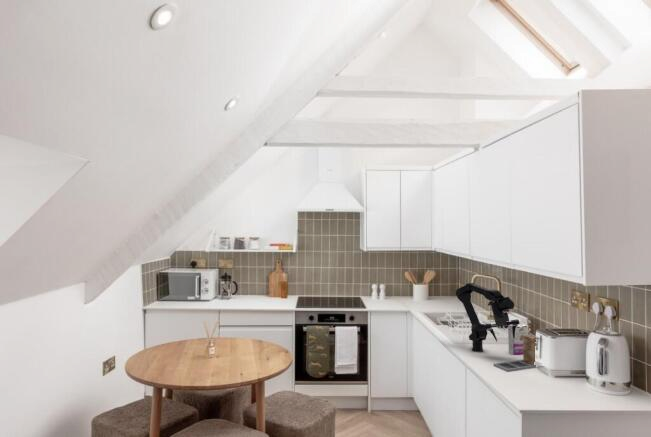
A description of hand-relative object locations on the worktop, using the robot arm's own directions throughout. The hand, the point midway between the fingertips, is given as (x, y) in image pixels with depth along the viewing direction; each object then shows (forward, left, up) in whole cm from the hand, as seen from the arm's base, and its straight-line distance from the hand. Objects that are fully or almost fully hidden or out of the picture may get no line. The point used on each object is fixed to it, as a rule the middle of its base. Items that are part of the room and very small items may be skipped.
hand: (505, 340), depth 236 cm
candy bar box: (-17, +9, -11) cm, 22 cm away
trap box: (+9, +6, -11) cm, 16 cm away
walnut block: (+4, +12, -11) cm, 17 cm away
